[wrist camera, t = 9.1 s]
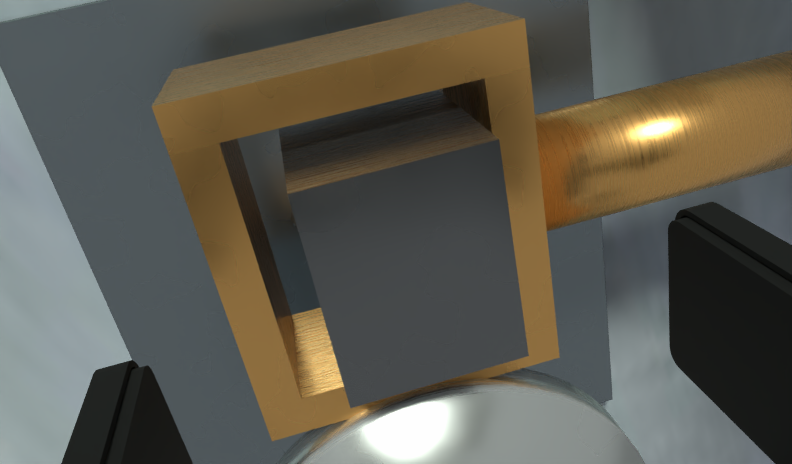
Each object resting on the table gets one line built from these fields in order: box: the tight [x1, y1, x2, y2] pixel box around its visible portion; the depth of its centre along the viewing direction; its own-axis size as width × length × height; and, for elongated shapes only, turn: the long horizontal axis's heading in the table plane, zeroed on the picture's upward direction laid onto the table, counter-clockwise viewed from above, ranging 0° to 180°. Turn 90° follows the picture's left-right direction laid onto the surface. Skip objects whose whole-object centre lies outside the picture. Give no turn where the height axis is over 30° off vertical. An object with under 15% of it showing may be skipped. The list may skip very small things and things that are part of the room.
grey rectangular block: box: [278, 90, 529, 408], centre depth 18 cm, size 5×4×10 cm
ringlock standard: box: [0, 0, 792, 464], centre depth 19 cm, size 22×23×15 cm
